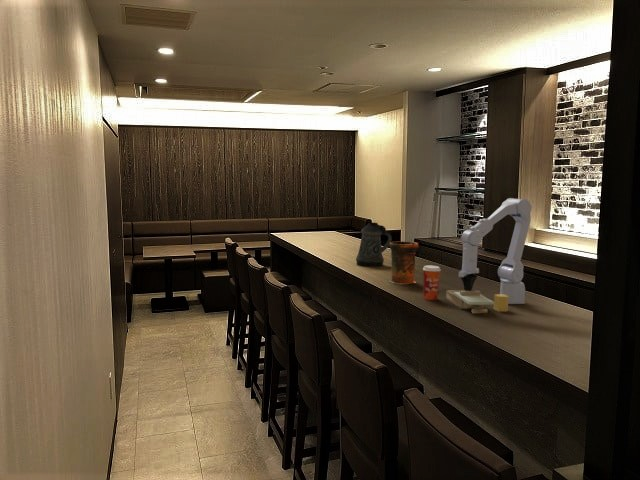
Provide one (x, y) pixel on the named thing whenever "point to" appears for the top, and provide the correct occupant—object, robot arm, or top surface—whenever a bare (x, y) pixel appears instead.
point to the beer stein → (372, 245)
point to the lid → (473, 298)
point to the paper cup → (431, 282)
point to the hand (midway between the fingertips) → (467, 292)
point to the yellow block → (500, 302)
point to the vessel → (403, 261)
